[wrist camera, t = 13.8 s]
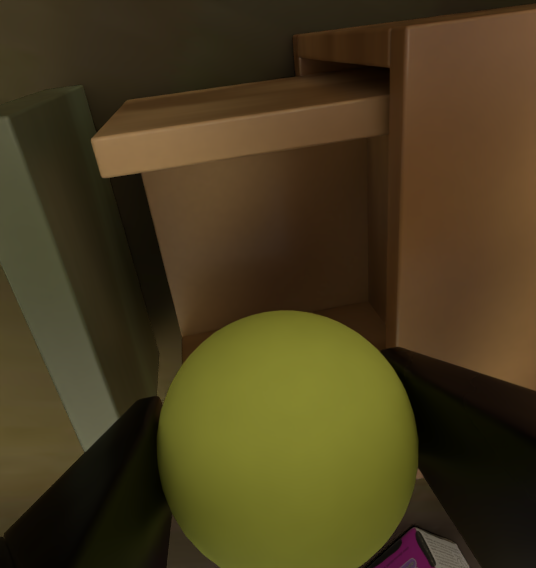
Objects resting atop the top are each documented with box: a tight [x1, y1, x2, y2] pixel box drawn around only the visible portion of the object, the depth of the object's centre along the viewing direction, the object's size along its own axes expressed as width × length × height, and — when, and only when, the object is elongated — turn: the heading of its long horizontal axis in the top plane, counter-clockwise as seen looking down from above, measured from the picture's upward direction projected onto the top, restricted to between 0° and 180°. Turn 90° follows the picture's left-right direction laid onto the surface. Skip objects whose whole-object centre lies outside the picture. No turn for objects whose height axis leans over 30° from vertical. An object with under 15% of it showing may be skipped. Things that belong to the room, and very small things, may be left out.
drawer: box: [0, 66, 390, 453], centre depth 14 cm, size 12×11×7 cm
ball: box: [157, 310, 419, 568], centre depth 8 cm, size 4×4×4 cm
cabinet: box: [293, 3, 536, 479], centre depth 15 cm, size 12×12×9 cm
